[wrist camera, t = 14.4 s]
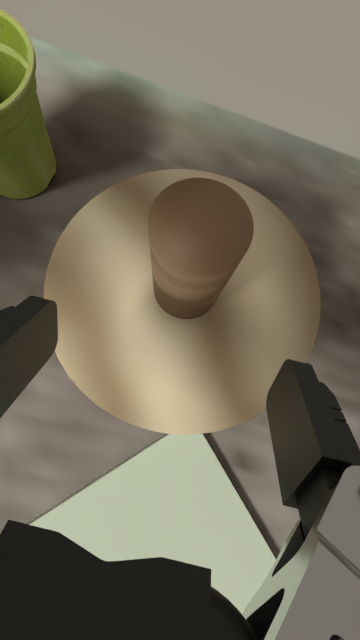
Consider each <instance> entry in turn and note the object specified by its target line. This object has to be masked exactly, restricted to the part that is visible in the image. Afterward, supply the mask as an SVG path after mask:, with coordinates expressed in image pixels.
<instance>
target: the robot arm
mask: <svg viewBox="0 0 360 640" xmlns="http://www.w3.org/2000/svg"><path fill="white" fill-rule="evenodd" d="M57 342H58V319H57V304H56V302H55V301H52V300H48V299H44V298H40V297H36V296H29V297H28V298H27V299H25V300H24V301H23V302H21V303H20V304H19V305H17V306H16V307H14V306H10V307H8V308H5V309H2V310H0V418H1V417H2V415H3V414H4V413H5V412H6V411H7V409H8V408H9V407H10V406H11V404H12V403H13V402H14V401H15V400H16V398H17V397H18V396H19V395H20V393H21V392H22V391H23V390H24V389H25V387H26V386H27V385H28V384H29V383H30V381H31V380H32V379H33V378H34V376H35V375H36V374H37V373H38V372H39V370H40V369H41V368H42V367H43V365H44V364H45V363H46V362H47V361H48V359H49V358H50V357H51V356H52V354H53V353H54V351H55V349H56V346H57ZM266 409H267V415H268V421H269V427H270V432H271V438H272V444H273V450H274V456H275V461H276V467H277V473H278V479H279V485H280V490H281V496H282V502H283V505H285V506H289V507H293V508H297V509H298V510H299V514H300V519H299V520H298V522H297V523H296V524H295V526H294V528H293V530H292V532H291V533H290V535H289V537H288V539H287V541H286V542H285V544H284V546H283V548H282V550H281V552H280V553H279V555H278V557H277V559H276V561H275V562H274V564H273V566H272V568H271V570H270V572H269V573H268V575H267V577H266V579H265V580H264V582H263V583H262V585H261V586H260V588H259V589H258V591H257V592H256V593H255V595H254V596H253V597H252V599H251V600H250V602H249V603H248V605H247V607H246V608H245V610H244V612H243V613H242V614H241V612H240V611H239V610H238V609H237V608H236V607H235V606H234V605H233V604H232V603H231V602H230V601H229V600H228V599H227V598H226V597H225V596H224V595H222V594H221V593H220V592H219V591H218V590H216V589H215V588H213V587H211V569H209V568H205V567H201V566H197V565H192V564H188V563H184V562H180V561H176V560H172V559H168V558H164V557H156V558H145V559H133V560H122V561H104V560H102V559H100V558H98V557H97V556H95V555H94V554H92V553H90V552H89V551H87V550H86V549H84V548H83V547H81V546H80V545H78V544H76V543H75V542H73V541H72V540H70V539H69V538H67V537H66V536H64V535H62V534H61V533H59V532H57V531H53V530H48V529H44V528H40V527H36V526H32V525H28V524H24V523H20V522H16V521H11V520H8V522H7V524H6V525H5V527H4V529H3V531H2V532H1V534H0V640H360V450H359V448H358V445H357V443H356V441H355V439H354V437H353V434H352V432H351V430H350V428H349V426H348V424H346V419H345V417H344V415H343V413H342V412H341V408H340V406H339V404H338V402H337V400H336V397H335V395H334V394H333V393H332V392H331V391H330V390H329V389H328V387H327V386H326V385H325V384H324V383H322V382H319V381H318V379H317V376H316V374H315V372H314V369H313V367H312V365H310V364H307V363H303V362H299V361H295V360H291V359H287V360H285V361H284V363H283V365H282V366H281V368H280V370H279V372H278V374H277V376H276V378H275V380H274V382H273V384H272V385H271V387H270V389H269V392H268V395H267V400H266Z"/></svg>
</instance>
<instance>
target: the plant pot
mask: <svg viewBox="0 0 360 640" xmlns="http://www.w3.org/2000/svg"><path fill="white" fill-rule="evenodd" d="M35 70H36V57H35V52H34V48H33V45H32V42H31V40H30V38H29V36H28V34H27V32H26V31H25V29H24V28H23V27H22V25H21V24H20V23H19V22H18V21H17V20H15V19H14V18H13V17H12V16H11V15H9V14H8V13H7V12H5V11H3V10H1V9H0V195H3V196H5V197H8V198H11V199H25V198H29V197H32V196H35V195H37V194H39V193H41V192H42V191H43V190H45V189H46V188H47V187H48V185H49V182H50V180H51V179H52V177H53V175H54V174H55V173H56V159H55V156H54V153H53V149H52V146H51V143H50V139H49V136H48V132H47V129H46V125H45V122H44V118H43V114H42V111H41V107H40V104H39V100H38V96H37V92H36V77H35Z"/></svg>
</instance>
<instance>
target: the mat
mask: <svg viewBox="0 0 360 640" xmlns="http://www.w3.org/2000/svg"><path fill="white" fill-rule="evenodd" d="M28 525H32V526H36V527H40V528H44V529H48V530H53V531H57V532H59V533H61V534H62V535H64V536H66V537H67V538H69V539H70V540H72V541H73V542H75V543H76V544H78V545H80V546H81V547H83V548H84V549H86V550H87V551H89V552H90V553H92V554H94V555H95V556H97V557H98V558H100V559H102V560H104V561H122V560H133V559H145V558H156V557H164V558H168V559H172V560H176V561H180V562H184V563H188V564H192V565H197V566H201V567H205V568H209V569H211V587H213V588H215V589H216V590H218V591H219V592H220V593H221V594H222V595H224V596H225V597H226V598H227V599H228V600H229V601H230V602H231V603H232V604H233V605H234V606H235V607H236V608H237V609H238V610H239V611H240V612H241V614H242V613H243V612H244V610H245V608H246V607H247V605H248V603H249V602H250V600H251V599H252V597H253V596H254V595H255V593H256V592H257V591H258V589H259V588H260V586H261V585H262V583H263V582H264V580H265V579H266V577H267V575H268V573H269V572H270V570H271V568H272V566H273V564H274V562H275V561H276V559H275V557H274V555H273V553H272V552H271V550H270V548H269V547H268V545H267V543H266V541H265V540H264V538H263V536H262V535H261V533H260V531H259V529H258V528H257V526H256V524H255V523H254V521H253V519H252V517H251V516H250V514H249V512H248V511H247V509H246V507H245V505H244V504H243V502H242V500H241V499H240V497H239V495H238V493H237V492H236V490H235V488H234V487H233V485H232V483H231V481H230V480H229V478H228V476H227V475H226V473H225V471H224V469H223V468H222V466H221V464H220V463H219V461H218V459H217V457H216V456H215V454H214V452H213V451H212V449H211V447H210V445H209V444H208V442H207V440H206V439H205V437H204V435H203V433H202V434H193V435H184V434H167V435H165V436H164V437H162V438H161V439H159V440H158V441H156V442H154V443H153V444H151V445H150V446H148V447H147V448H145V449H144V450H142V451H141V452H139V453H137V454H136V455H134V456H133V457H131V458H130V459H128V460H127V461H125V462H124V463H122V464H120V465H119V466H117V467H116V468H114V469H113V470H111V471H110V472H108V473H107V474H105V475H103V476H102V477H100V478H99V479H97V480H96V481H94V482H93V483H91V484H90V485H88V486H86V487H85V488H83V489H82V490H80V491H79V492H77V493H76V494H74V495H73V496H71V497H69V498H68V499H66V500H65V501H63V502H62V503H60V504H59V505H57V506H56V507H54V508H52V509H51V510H49V511H48V512H46V513H45V514H43V515H42V516H40V517H39V518H37V519H36V520H34V521H32V522H31V523H29V524H28Z"/></svg>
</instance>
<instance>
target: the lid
mask: <svg viewBox="0 0 360 640" xmlns="http://www.w3.org/2000/svg"><path fill="white" fill-rule="evenodd" d="M44 299H48V300H52V301H55V302H56V304H57V319H58V342H57V346H56V349H55V352H56V355H57V357H58V359H59V361H60V363H61V364H62V366H63V367H64V369H65V371H66V372H67V374H68V376H69V377H70V378H71V379H72V380H73V382H74V383H75V384H76V385H77V386H78V388H79V389H80V390H81V391H82V392H83V393H84V394H85V395H86V396H88V397H89V398H90V399H91V400H92V401H93V402H94V403H95V404H96V405H98V406H99V407H101V408H102V409H104V410H105V411H107V412H108V413H110V414H111V415H113V416H115V417H117V418H119V419H121V420H123V421H125V422H127V423H129V424H132V425H135V426H138V427H141V428H144V429H147V430H150V431H156V432H162V433H167V434H184V435H193V434H202V433H211V432H215V431H219V430H223V429H227V428H230V427H233V426H235V425H238V424H240V423H243V422H245V421H248V420H249V419H251V418H253V417H255V416H256V415H258V414H260V413H261V412H263V411H265V410H266V400H267V395H268V392H269V389H270V387H271V385H272V384H273V382H274V380H275V378H276V376H277V374H278V372H279V370H280V368H281V366H282V365H283V363H284V361H285V360H287V359H291V360H295V361H299V362H303V363H307V361H308V359H309V357H310V355H311V353H312V350H313V347H314V344H315V341H316V338H317V334H318V329H319V324H320V313H321V296H320V285H319V281H318V276H317V271H316V268H315V265H314V262H313V259H312V256H311V254H310V252H309V250H308V248H307V246H306V244H305V242H304V240H303V238H302V237H301V235H300V234H299V232H298V231H297V229H296V227H295V226H294V225H293V224H292V222H291V221H290V220H289V219H288V218H287V217H286V215H285V214H284V213H283V212H282V211H281V210H280V209H279V208H278V207H276V206H275V205H274V204H273V203H272V202H271V201H270V200H268V199H267V198H265V197H264V196H263V195H261V194H260V193H259V192H257V191H255V190H253V189H252V188H250V187H248V186H247V185H245V184H242V183H240V182H238V181H236V180H233V179H231V178H228V177H225V176H222V175H219V174H215V173H211V172H205V171H200V170H190V169H166V170H159V171H153V172H148V173H144V174H140V175H137V176H133V177H131V178H128V179H126V180H123V181H121V182H118V183H117V184H115V185H113V186H111V187H109V188H107V189H106V190H104V191H103V192H101V193H100V194H98V195H97V196H96V197H94V198H93V199H91V200H90V201H89V202H88V203H87V204H86V205H85V206H84V207H83V208H82V209H81V210H79V211H78V213H77V214H76V215H75V216H74V217H73V219H72V220H71V221H70V222H69V223H68V225H67V226H66V228H65V230H64V231H63V233H62V234H61V236H60V237H59V239H58V241H57V244H56V246H55V248H54V250H53V252H52V255H51V258H50V261H49V265H48V268H47V272H46V278H45V285H44Z"/></svg>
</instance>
